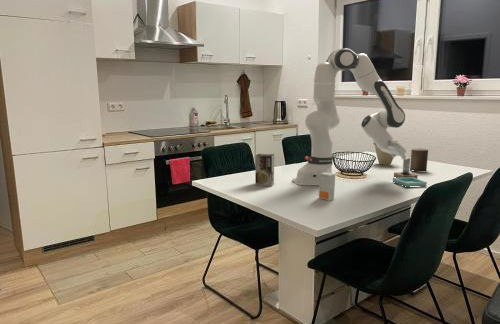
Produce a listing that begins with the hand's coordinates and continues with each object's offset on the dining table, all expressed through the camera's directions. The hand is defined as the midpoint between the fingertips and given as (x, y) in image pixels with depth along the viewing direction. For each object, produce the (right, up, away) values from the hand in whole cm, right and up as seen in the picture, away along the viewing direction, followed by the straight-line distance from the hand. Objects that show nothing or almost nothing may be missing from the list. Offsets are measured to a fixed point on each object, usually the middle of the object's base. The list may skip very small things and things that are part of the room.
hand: (399, 157), depth 212 cm
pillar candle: (+23, -8, +31) cm, 40 cm away
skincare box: (-47, -20, -32) cm, 60 cm away
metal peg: (+6, -12, +8) cm, 16 cm away
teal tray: (+3, -15, -5) cm, 16 cm away
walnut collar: (+6, -12, +8) cm, 16 cm away
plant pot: (+9, -4, +51) cm, 52 cm away
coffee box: (-75, -15, -6) cm, 76 cm away
